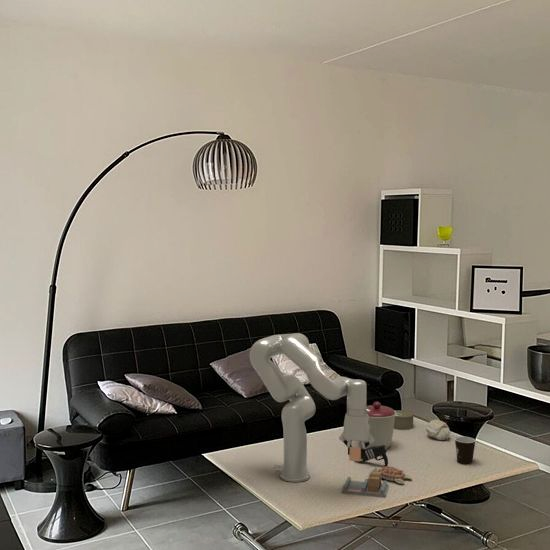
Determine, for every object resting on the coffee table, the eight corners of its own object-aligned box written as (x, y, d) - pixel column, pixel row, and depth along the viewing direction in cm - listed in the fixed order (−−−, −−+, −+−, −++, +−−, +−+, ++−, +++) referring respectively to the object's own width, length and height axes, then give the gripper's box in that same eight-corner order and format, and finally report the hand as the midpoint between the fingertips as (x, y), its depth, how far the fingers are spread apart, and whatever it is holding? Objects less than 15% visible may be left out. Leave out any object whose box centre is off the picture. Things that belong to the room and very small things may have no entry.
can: (418, 427, 360) (418, 414, 359) (400, 431, 354) (400, 418, 353) (402, 421, 370) (403, 409, 369) (384, 425, 364) (384, 412, 363)
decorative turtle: (384, 468, 304) (384, 457, 304) (419, 477, 294) (419, 465, 293) (361, 480, 291) (361, 468, 290) (396, 490, 280) (397, 478, 280)
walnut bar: (371, 483, 284) (371, 471, 283) (381, 484, 283) (381, 472, 282) (368, 490, 276) (368, 478, 276) (378, 492, 275) (378, 479, 275)
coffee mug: (474, 466, 305) (474, 443, 304) (453, 464, 308) (454, 441, 307) (475, 457, 316) (476, 435, 315) (455, 455, 319) (456, 433, 318)
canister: (377, 455, 319) (378, 409, 317) (348, 445, 333) (349, 401, 331) (404, 447, 330) (404, 402, 328) (375, 437, 344) (375, 395, 342)
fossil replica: (446, 443, 336) (452, 439, 344) (448, 426, 335) (455, 422, 344) (421, 437, 342) (429, 433, 351) (424, 420, 342) (431, 417, 350)
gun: (363, 473, 312) (353, 452, 314) (394, 463, 304) (384, 441, 306) (360, 475, 310) (350, 454, 311) (391, 465, 302) (381, 442, 303)
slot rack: (341, 492, 277) (341, 486, 277) (346, 482, 288) (346, 476, 287) (385, 497, 272) (385, 490, 272) (388, 486, 283) (388, 480, 283)
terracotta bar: (352, 459, 283) (353, 446, 284) (362, 460, 282) (363, 447, 283) (349, 460, 275) (349, 447, 276) (359, 461, 274) (360, 448, 275)
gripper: (379, 410, 279) (379, 456, 281) (337, 407, 284) (337, 452, 286) (376, 415, 272) (376, 462, 274) (333, 412, 277) (333, 458, 279)
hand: (356, 456), depth 280 cm, fingers closed on terracotta bar, 4 cm apart
